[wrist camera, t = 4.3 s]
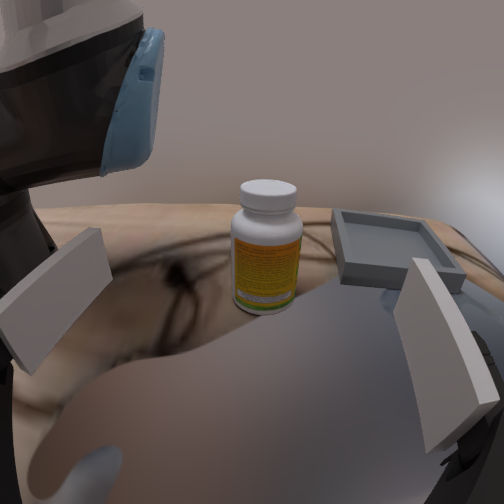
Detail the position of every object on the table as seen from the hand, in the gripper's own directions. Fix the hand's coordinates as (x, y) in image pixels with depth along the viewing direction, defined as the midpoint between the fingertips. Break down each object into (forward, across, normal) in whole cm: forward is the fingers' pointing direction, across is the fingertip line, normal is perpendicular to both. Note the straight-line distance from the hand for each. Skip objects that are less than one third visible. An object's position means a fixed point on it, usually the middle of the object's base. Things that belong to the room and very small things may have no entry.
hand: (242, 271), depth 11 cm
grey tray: (+20, +14, -9) cm, 26 cm away
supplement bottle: (+10, 0, -9) cm, 14 cm away
